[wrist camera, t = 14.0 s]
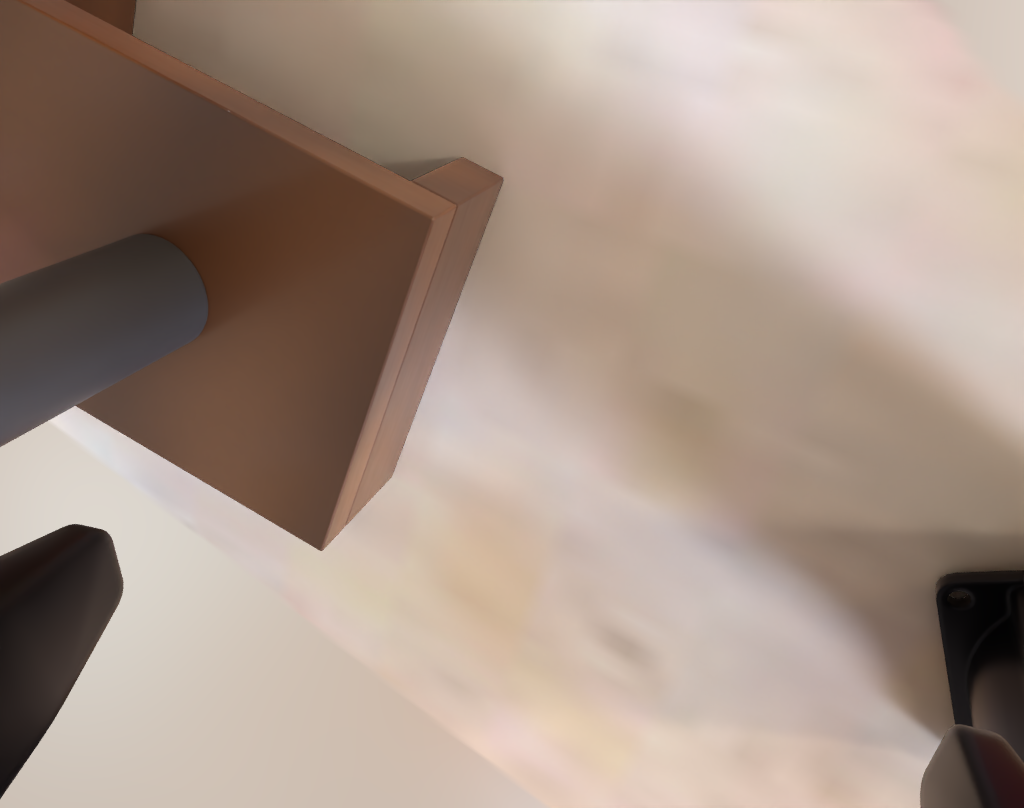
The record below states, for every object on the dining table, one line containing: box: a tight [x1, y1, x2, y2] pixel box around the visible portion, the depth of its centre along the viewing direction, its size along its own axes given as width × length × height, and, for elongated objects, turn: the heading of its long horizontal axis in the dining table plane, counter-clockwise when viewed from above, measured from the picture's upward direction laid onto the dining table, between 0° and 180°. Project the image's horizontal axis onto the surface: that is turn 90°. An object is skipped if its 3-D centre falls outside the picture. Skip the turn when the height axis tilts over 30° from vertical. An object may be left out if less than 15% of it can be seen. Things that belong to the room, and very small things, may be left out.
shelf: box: [0, 0, 503, 551], centre depth 22 cm, size 12×10×4 cm
